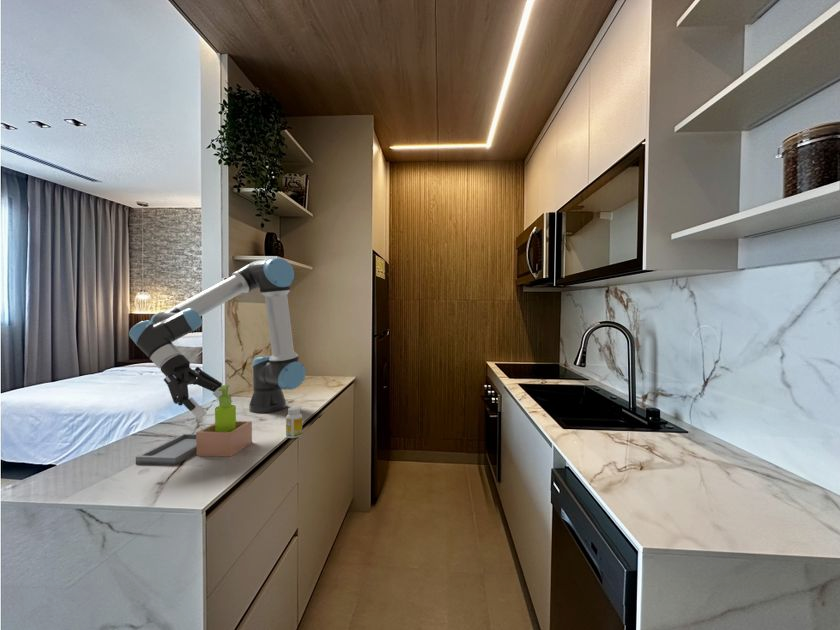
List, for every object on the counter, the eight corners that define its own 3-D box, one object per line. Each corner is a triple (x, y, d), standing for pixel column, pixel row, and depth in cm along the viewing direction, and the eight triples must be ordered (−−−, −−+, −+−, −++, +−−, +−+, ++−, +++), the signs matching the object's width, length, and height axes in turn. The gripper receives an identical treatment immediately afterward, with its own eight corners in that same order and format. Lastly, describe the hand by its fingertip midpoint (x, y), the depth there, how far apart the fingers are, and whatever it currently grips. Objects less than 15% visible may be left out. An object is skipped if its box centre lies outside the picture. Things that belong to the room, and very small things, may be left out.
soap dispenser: (212, 453, 117) (211, 388, 117) (218, 445, 124) (217, 384, 123) (233, 451, 119) (232, 387, 118) (237, 443, 125) (236, 383, 125)
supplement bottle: (284, 438, 130) (284, 410, 130) (288, 433, 135) (287, 406, 135) (300, 438, 130) (300, 410, 130) (303, 433, 136) (303, 406, 136)
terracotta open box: (220, 441, 128) (219, 420, 127) (252, 442, 127) (251, 421, 127) (196, 455, 116) (196, 432, 115) (231, 456, 115) (231, 433, 115)
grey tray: (183, 439, 130) (183, 433, 130) (217, 440, 129) (217, 434, 129) (135, 463, 110) (135, 456, 110) (175, 464, 109) (175, 457, 109)
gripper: (190, 364, 134) (231, 407, 133) (130, 377, 109) (180, 431, 108) (204, 349, 133) (246, 393, 132) (147, 358, 108) (198, 413, 107)
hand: (216, 410), depth 120 cm, fingers open, 13 cm apart
